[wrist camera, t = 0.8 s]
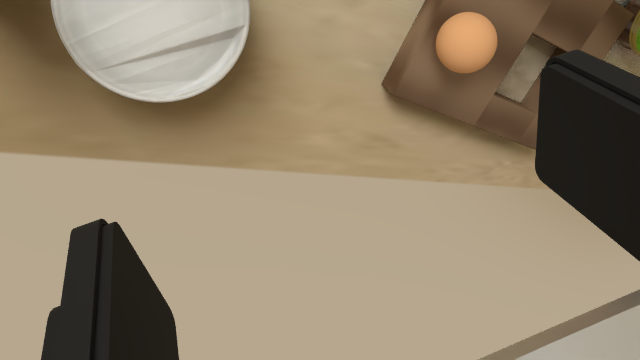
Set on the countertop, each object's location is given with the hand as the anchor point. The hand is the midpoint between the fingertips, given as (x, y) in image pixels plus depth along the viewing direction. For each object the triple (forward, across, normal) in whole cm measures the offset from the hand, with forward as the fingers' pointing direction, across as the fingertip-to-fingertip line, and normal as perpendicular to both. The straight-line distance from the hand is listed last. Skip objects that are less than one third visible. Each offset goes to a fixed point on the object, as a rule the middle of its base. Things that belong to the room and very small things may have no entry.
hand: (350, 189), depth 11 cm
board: (+28, -22, +14) cm, 39 cm away
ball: (+24, -16, +10) cm, 31 cm away
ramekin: (+28, +4, +2) cm, 29 cm away
